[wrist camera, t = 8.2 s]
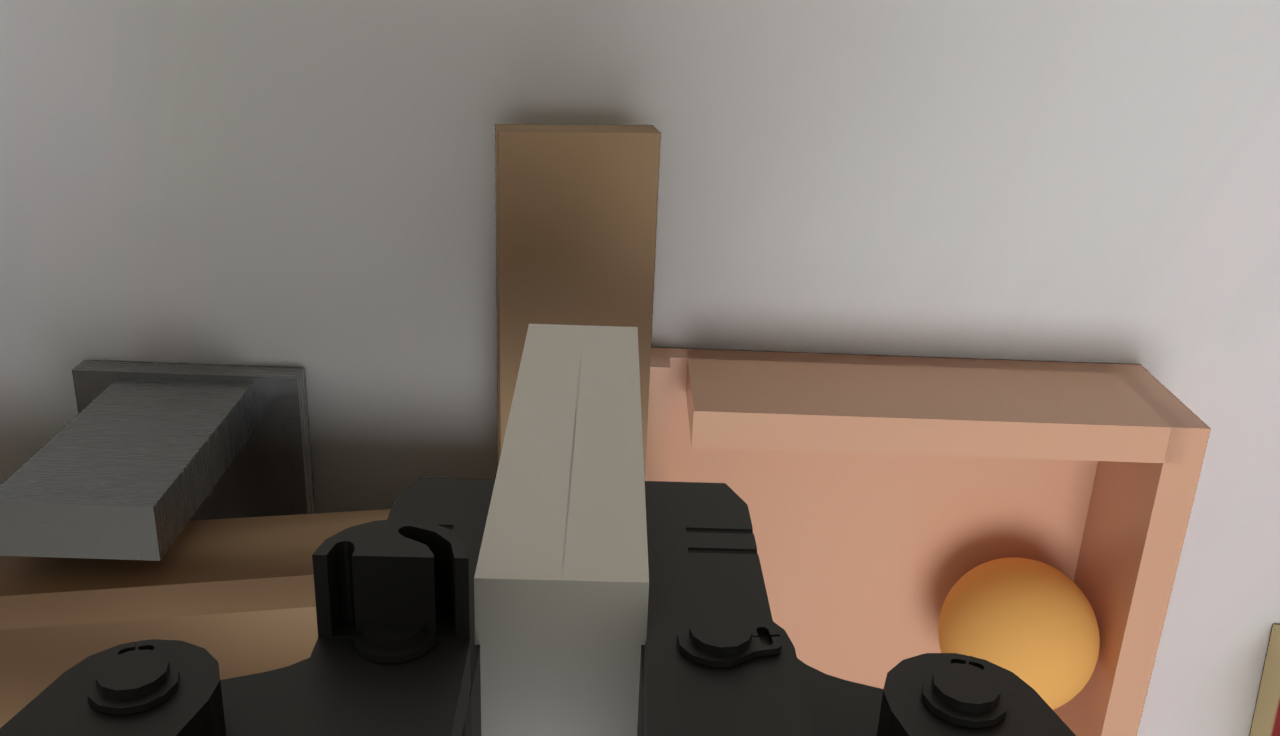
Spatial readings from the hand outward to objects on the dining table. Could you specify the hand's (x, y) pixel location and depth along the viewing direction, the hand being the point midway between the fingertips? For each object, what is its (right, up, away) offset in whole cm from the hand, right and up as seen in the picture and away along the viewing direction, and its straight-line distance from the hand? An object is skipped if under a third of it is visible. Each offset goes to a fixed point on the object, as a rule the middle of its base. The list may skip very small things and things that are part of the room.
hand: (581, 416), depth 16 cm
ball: (+9, -5, +10) cm, 15 cm away
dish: (+6, -4, +12) cm, 15 cm away
